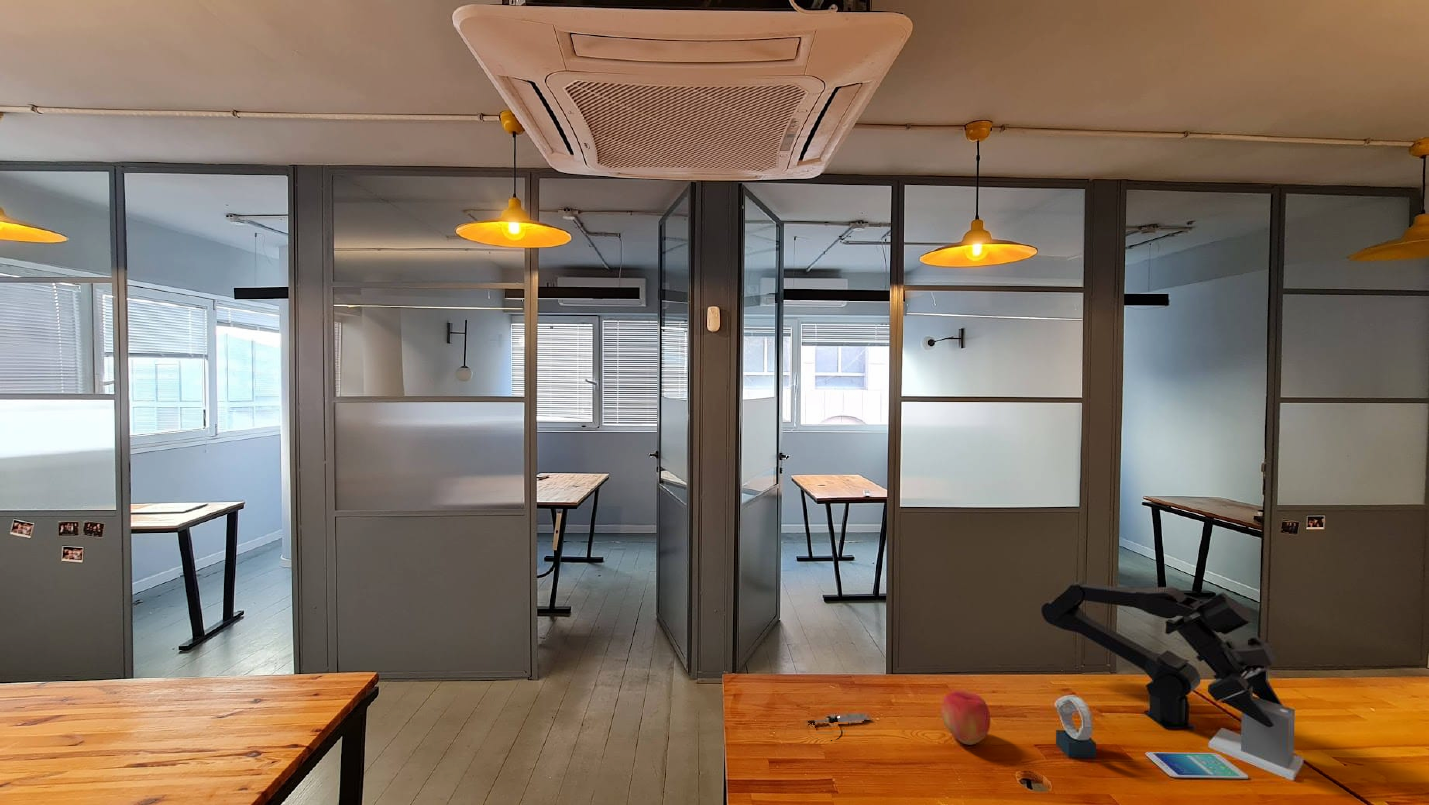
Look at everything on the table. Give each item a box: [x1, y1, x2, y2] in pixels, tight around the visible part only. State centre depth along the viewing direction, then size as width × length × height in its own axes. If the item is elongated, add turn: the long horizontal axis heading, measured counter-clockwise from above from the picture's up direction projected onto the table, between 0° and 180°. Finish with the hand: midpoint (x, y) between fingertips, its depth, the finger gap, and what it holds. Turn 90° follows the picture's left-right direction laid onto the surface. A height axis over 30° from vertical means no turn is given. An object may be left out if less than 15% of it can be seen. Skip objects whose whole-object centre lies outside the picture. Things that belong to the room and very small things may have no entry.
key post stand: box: [1208, 727, 1304, 781], centre depth 116 cm, size 12×9×5 cm
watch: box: [1054, 694, 1097, 759], centre depth 117 cm, size 6×8×11 cm
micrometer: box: [806, 712, 871, 726], centre depth 124 cm, size 15×7×2 cm, turn 99°
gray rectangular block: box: [1240, 695, 1296, 769], centre depth 114 cm, size 7×5×10 cm
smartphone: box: [1145, 751, 1249, 781], centre depth 112 cm, size 8×1×15 cm
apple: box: [941, 689, 991, 746], centre depth 121 cm, size 10×10×10 cm
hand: (1277, 718), depth 113 cm, fingers open, 9 cm apart
